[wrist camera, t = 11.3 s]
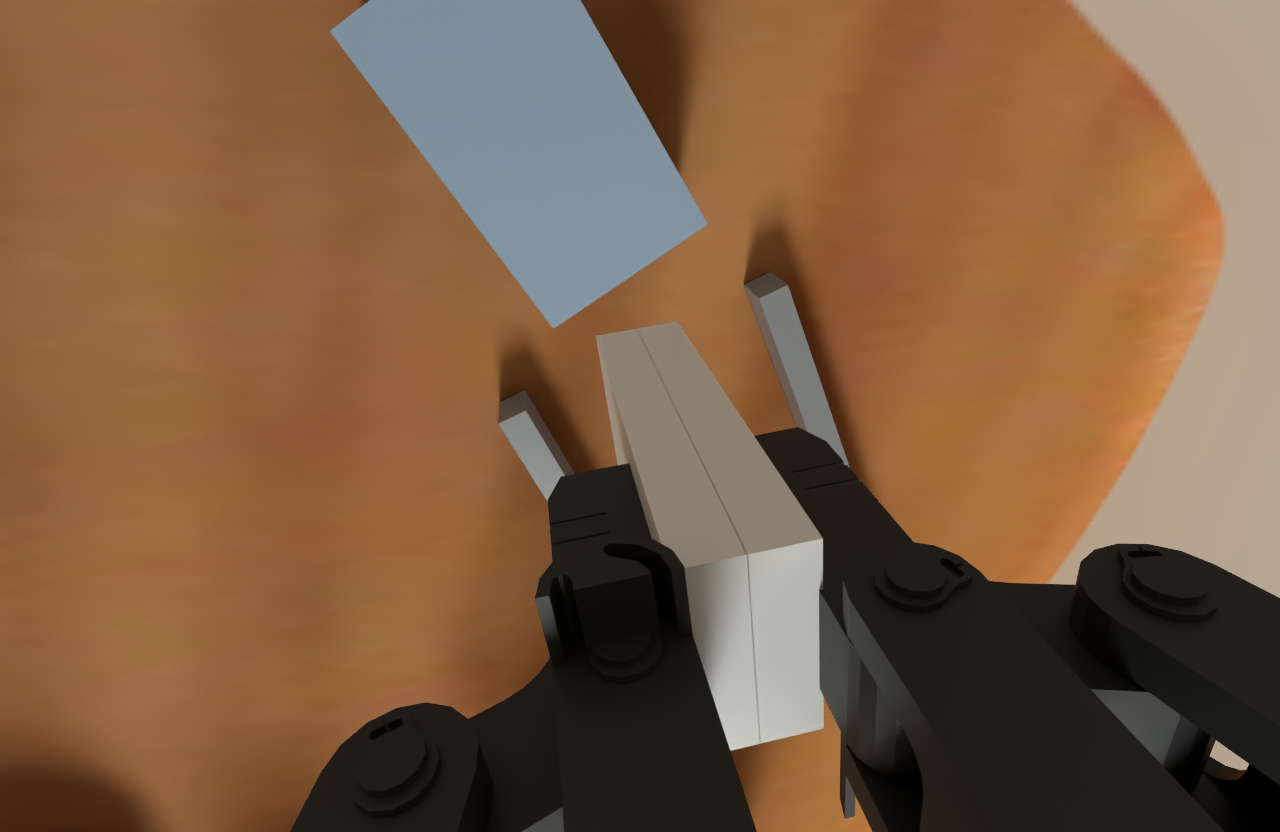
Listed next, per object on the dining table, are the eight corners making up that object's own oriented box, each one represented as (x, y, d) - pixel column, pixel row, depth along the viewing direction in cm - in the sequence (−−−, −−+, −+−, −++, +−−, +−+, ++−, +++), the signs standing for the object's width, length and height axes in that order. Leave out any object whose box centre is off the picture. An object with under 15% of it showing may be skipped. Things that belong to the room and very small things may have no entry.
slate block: (367, 41, 22) (329, 31, 18) (516, -73, 21) (516, -114, 17) (547, 287, 27) (553, 328, 22) (675, 200, 26) (707, 224, 21)
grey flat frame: (499, 402, 28) (498, 423, 26) (770, 271, 28) (787, 284, 26) (691, 711, 38) (700, 741, 37) (892, 621, 38) (910, 647, 36)
